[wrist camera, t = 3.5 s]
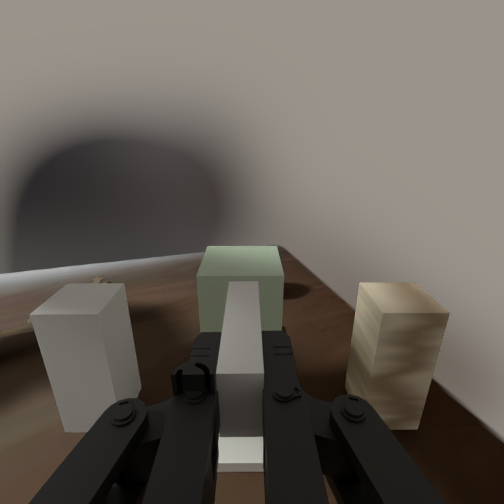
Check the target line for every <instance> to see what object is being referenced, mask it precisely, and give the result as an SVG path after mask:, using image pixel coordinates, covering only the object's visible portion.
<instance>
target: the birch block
mask: <svg viewBox="0 0 504 504" xmlns="http://www.w3.org/2000/svg"><path fill="white" fill-rule="evenodd" d="M449 314H450V313H449V312H448V311H447V310H446V309H445V308H444V307H442V306H441V305H440V304H439V303H438V302H437V301H436V300H434V299H433V298H432V297H431V296H430V295H429V294H427V293H426V292H425V291H424V290H423V289H422V288H421V287H420V286H418V285H417V284H416V283H360V285H359V291H358V298H357V306H356V312H355V319H354V326H353V333H352V340H351V347H350V354H349V361H348V368H347V375H346V382H345V388H346V391H347V393H348V394H351V395H355V396H359V397H360V398H362V399H364V400H366V401H367V402H368V403H369V404H370V405H371V406H372V407H373V408H374V409H375V410H376V412H377V413H378V414H379V416H380V417H381V418H382V420H383V421H384V422H385V424H386V425H387V426H388V428H389V429H390V430H418V427H419V423H420V420H421V416H422V412H423V409H424V405H425V401H426V398H427V394H428V390H429V387H430V383H431V380H432V376H433V372H434V368H435V365H436V361H437V358H438V354H439V350H440V347H441V343H442V339H443V336H444V332H445V328H446V325H447V321H448V317H449Z"/></svg>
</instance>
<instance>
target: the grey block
mask: <svg viewBox="0 0 504 504" xmlns="http://www.w3.org/2000/svg"><path fill="white" fill-rule="evenodd" d="M29 315H30V318H31V322H32V325H33V328H34V331H35V335H36V338H37V341H38V345H39V348H40V351H41V354H42V358H43V361H44V364H45V368H46V371H47V374H48V377H49V381H50V384H51V387H52V390H53V394H54V397H55V400H56V404H57V407H58V410H59V413H60V417H61V420H62V423H63V427H64V430H65V432H88V431H89V429H90V428H91V427H92V426H93V425H94V423H95V422H96V421H97V420H98V418H99V417H100V416H101V415H102V414H103V412H104V411H105V410H106V409H107V408H109V407H110V406H111V405H112V404H114V403H116V402H118V401H119V400H123V399H127V398H137V397H138V395H139V392H140V390H141V388H142V387H141V381H140V375H139V369H138V363H137V357H136V351H135V345H134V339H133V333H132V327H131V321H130V315H129V309H128V304H127V298H126V292H125V286H124V283H103V284H67V285H65V286H64V287H63V288H62V289H60V290H59V291H58V292H57V293H55V294H54V295H53V296H52V297H50V298H49V299H48V300H47V301H46V302H44V303H43V304H42V305H41V306H39V307H38V308H37V309H36V310H34V311H33V312H32V313H31V314H29Z"/></svg>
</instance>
